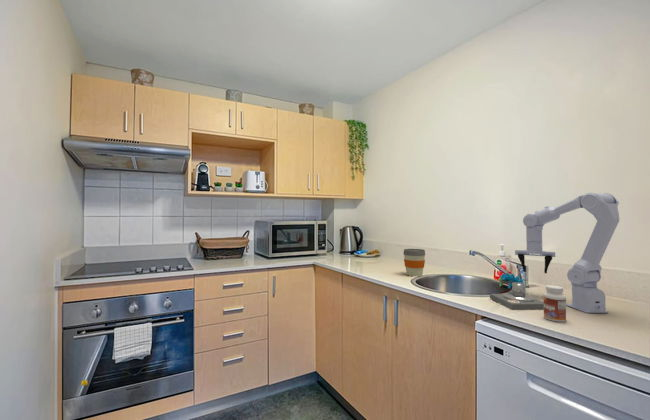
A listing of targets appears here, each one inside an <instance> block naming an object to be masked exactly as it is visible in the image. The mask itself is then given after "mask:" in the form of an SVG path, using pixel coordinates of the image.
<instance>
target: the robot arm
mask: <svg viewBox="0 0 650 420" xmlns="http://www.w3.org/2000/svg"><path fill="white" fill-rule="evenodd" d="M619 204H620V201H619V200H617V198H616V197H615V196H614V195H613V194H611V193H609V192H603V193H602V192H599V193H596V192H588V193H585V194H582V195H579V196H576V197H575V198H573V199H571V200H569V201H567V202H564V203H562V204H560V205H558V206H550V205H549V206H548V205H547V206H544V209H541V210H539V211H537V210H536V211H534V213H533V214H532V213H527V214H526V215H524V217H523V219H522V223H523V225H524V226H525V229H526V235H525V236H526V241H525V242H526V250H525V249H524V250H523V249H522V250H521V249H519V250H518V249H517V250H516V249H515V250H514V255H515V256H517V257H518V259H519V261H520V263H521V266H522V271H523V272H524V273H525V272H526V265H525V261H526V260H525V259H526V258H525V257H526V256H533V257H534V256H535V257H544V272H543V273H544V274H547V273H548V269H549V266H550V264H551V262H552V260H553V258H555V257H556V252H555V251H545V250H543V227H544V226H545V224H549V223H551V222H553V221H556V220H558V219H560V218H561V215H563V214H566V213H569V212H572V211H576V210H577V209H581V208H582V209H585V210H586V211H587V212H589V213H590V214H591V215H593V217H594V218H595V220H596V223H595V225H594V228H593V229H592V232H591V235H590V237H589V239H588V241H587V243H586V245H585V248H584V250H583V253H582V255H581V257H580V258H579V260H578V261H576V262H575V263H574V265H573V266H572V268H570V269H568V270H567V273H566V274H567V275H566V277H567V279H568V280H569V282H570V284H571V297H572V298H571V303H566V307H567V306H568V307H570V308H572V309H575V310H579V311H581V312H583V313H585V314H586V313H587V314H605V313H606V314H607V313H608V312H609V311H608V310H607V309H606V307H607V306H606V305H607V304H606V294H605V292H604V291H603V290H601V289H600V288H599V287H598V283H599V282H600V280H601V279H602V275H601V273H602V270H603V269H602V268H603V267H602V266H601V265H600V264H601V261H602V259H603V257H604V254H605V252H606V250H607V248H608V246H609V245H610V244H609V243H610V241H611V239H612V237H613V236H614V233H615V231H616V229H617V227H618V225H619V223H620V214H619V213H620V212H619V208H618V206H619Z"/></svg>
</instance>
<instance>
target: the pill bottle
mask: <svg viewBox="0 0 650 420" xmlns="http://www.w3.org/2000/svg"><path fill="white" fill-rule="evenodd" d="M545 290H546V291H545V292H544V293H543V302H544V309H543V317H544V319H546V320H548V321H552V322H558V323H563V322H566V321H567V305H566V304H567V296H566V295H565V294H564V287H562V286H557V285H551V284H550V285H549V284H547V285H545Z"/></svg>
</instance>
